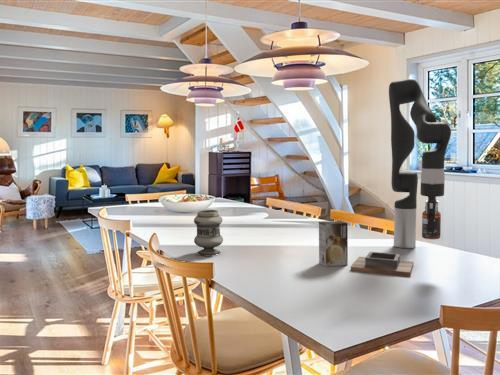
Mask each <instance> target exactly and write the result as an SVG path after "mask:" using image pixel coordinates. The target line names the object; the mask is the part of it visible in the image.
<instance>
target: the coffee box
mask: <svg viewBox="0 0 500 375" xmlns="http://www.w3.org/2000/svg"><path fill="white" fill-rule="evenodd" d="M348 225H349V224H348V222H346V221H342V220H328V221H327V220H326V221H325V220H324V221H318V263H319V264H320V265H322V266H323V267H325V268H328V267H330V268H331V267H337V266H338V267H339V266H348V265H349V264H348V263H349V262H348V261H349V259H348V256H349V255H348V253H349V252H348V250H349V248H348V245H349V244H348V241H349V239H348V234H349V232H348Z"/></svg>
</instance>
